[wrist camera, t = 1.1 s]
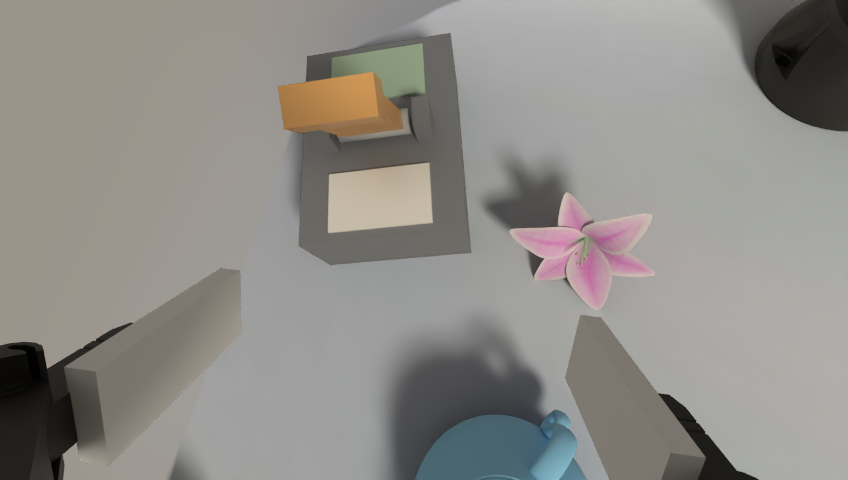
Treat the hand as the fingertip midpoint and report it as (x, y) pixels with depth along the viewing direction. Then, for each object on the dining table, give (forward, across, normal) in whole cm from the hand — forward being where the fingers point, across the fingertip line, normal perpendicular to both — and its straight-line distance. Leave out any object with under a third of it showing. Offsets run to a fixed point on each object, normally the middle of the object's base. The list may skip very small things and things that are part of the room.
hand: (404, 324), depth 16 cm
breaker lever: (+28, -7, +6) cm, 29 cm away
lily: (+27, +15, -5) cm, 31 cm away
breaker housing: (+34, -5, +1) cm, 35 cm away
